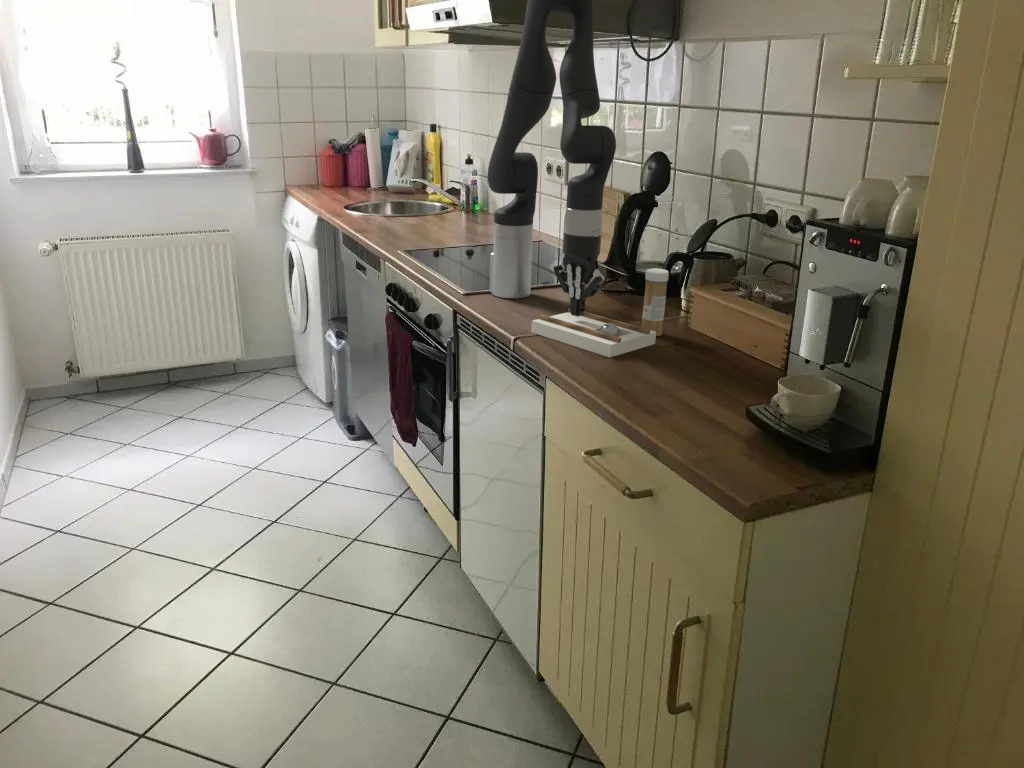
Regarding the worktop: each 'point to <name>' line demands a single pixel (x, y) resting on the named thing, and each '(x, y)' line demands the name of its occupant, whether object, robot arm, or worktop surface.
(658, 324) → the sprinkles bottle
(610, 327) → the ball
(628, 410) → the worktop surface
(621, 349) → the track board
